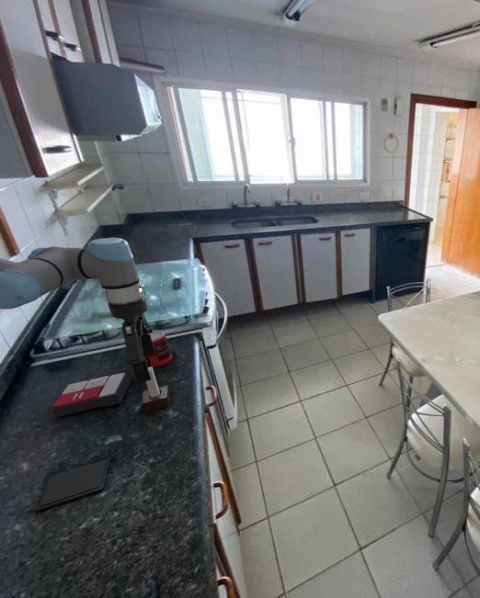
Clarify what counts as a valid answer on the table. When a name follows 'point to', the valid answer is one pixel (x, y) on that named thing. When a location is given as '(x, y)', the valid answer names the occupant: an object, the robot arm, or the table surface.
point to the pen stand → (156, 400)
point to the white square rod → (152, 384)
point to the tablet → (73, 485)
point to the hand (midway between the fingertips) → (147, 366)
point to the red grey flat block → (92, 394)
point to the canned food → (158, 350)
